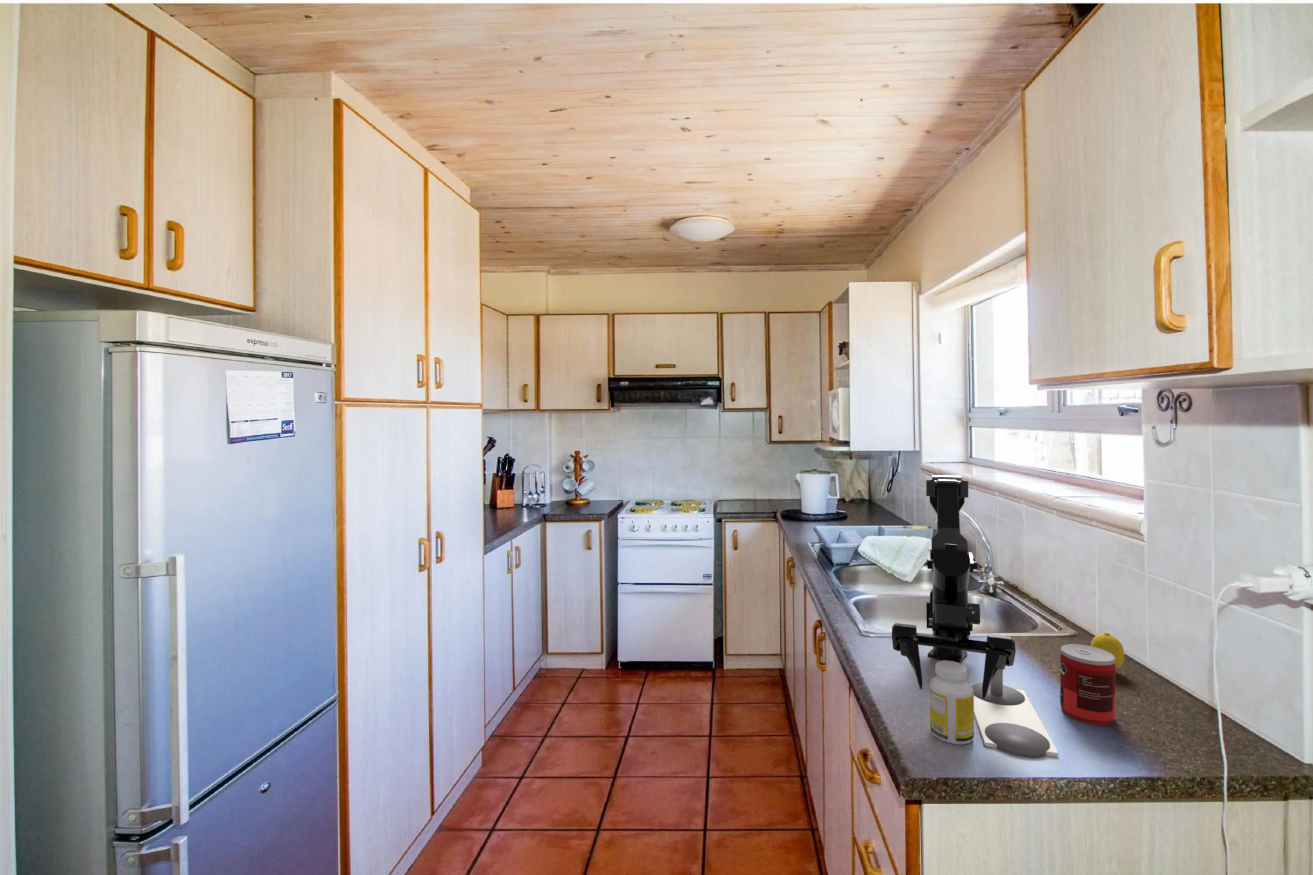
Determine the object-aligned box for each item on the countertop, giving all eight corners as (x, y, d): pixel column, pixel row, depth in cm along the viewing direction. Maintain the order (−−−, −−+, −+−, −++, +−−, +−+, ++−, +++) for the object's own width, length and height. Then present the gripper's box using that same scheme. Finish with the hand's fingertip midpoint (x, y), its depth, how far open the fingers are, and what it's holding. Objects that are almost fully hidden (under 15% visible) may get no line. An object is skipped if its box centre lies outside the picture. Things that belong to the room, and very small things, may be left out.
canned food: (1078, 700, 110) (1078, 640, 109) (1126, 720, 102) (1126, 657, 102) (1049, 708, 107) (1049, 647, 106) (1096, 729, 99) (1096, 664, 99)
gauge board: (963, 682, 117) (963, 649, 117) (1021, 689, 114) (1021, 655, 114) (986, 750, 94) (986, 708, 94) (1061, 762, 90) (1061, 718, 90)
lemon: (1095, 675, 119) (1095, 636, 119) (1085, 664, 125) (1086, 626, 124) (1128, 679, 118) (1129, 639, 117) (1117, 667, 123) (1117, 629, 123)
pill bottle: (980, 735, 98) (979, 665, 98) (965, 751, 94) (965, 678, 94) (939, 721, 103) (939, 654, 103) (923, 735, 99) (923, 666, 98)
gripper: (892, 577, 106) (887, 662, 96) (1014, 588, 98) (1022, 682, 88) (895, 608, 113) (891, 690, 104) (1009, 621, 105) (1016, 711, 96)
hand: (951, 693), depth 98 cm, fingers open, 9 cm apart
